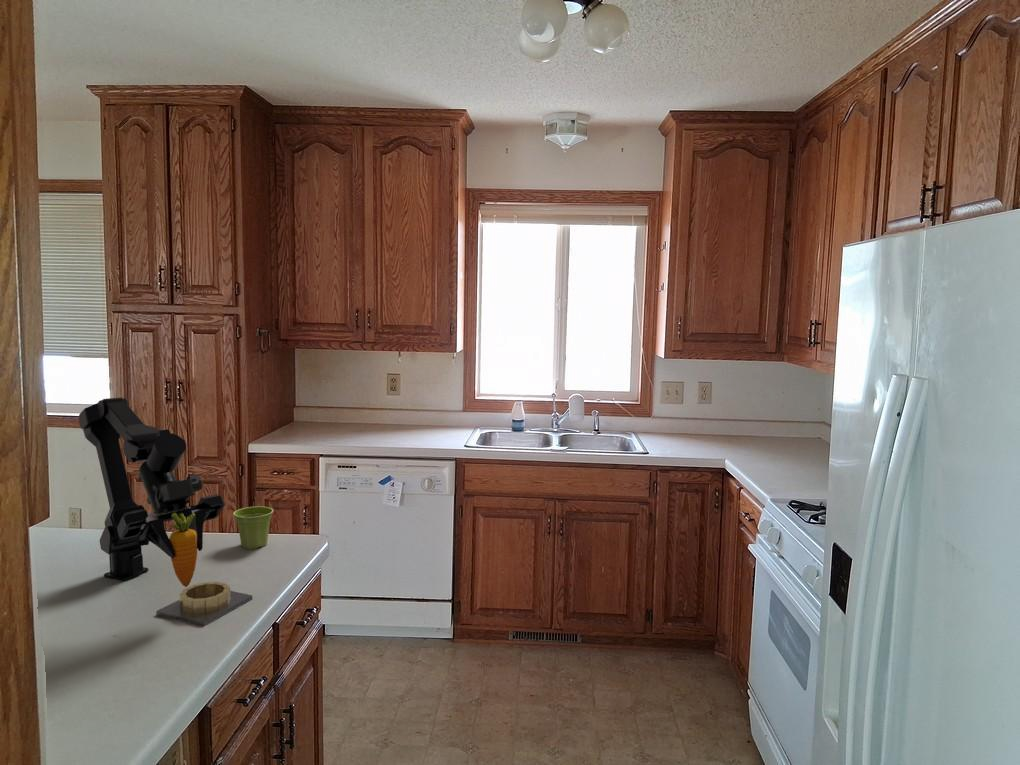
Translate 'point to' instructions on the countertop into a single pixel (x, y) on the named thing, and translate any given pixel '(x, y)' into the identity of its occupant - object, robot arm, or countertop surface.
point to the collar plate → (203, 616)
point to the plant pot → (253, 525)
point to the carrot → (184, 548)
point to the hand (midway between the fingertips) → (187, 553)
